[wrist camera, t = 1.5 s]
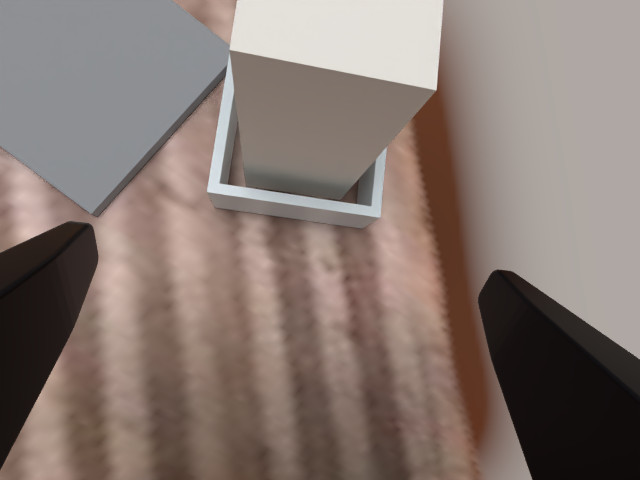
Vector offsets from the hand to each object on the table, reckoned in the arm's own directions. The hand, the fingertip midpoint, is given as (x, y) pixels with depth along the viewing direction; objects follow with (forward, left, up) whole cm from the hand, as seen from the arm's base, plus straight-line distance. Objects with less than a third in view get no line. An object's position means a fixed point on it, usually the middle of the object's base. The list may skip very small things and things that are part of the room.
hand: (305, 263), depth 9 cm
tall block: (+7, +4, -14) cm, 16 cm away
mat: (+3, +16, -14) cm, 21 cm away
